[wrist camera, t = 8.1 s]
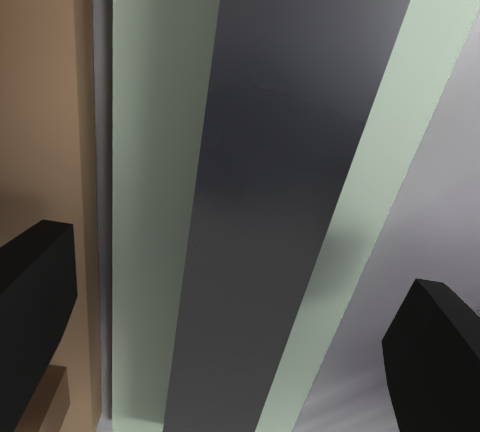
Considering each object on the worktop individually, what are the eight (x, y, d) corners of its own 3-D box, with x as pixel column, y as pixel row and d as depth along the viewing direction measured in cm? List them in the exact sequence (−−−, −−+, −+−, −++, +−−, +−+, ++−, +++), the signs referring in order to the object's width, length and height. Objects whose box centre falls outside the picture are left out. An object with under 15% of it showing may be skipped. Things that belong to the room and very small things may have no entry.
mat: (620, -341, 6) (642, -357, 5) (281, 442, 17) (281, 453, 17) (122, -471, 5) (113, -498, 5) (115, 421, 16) (111, 431, 16)
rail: (447, -270, 6) (544, -371, 4) (231, 433, 16) (227, 506, 14) (272, -314, 6) (278, -439, 4) (167, 424, 16) (153, 497, 14)
